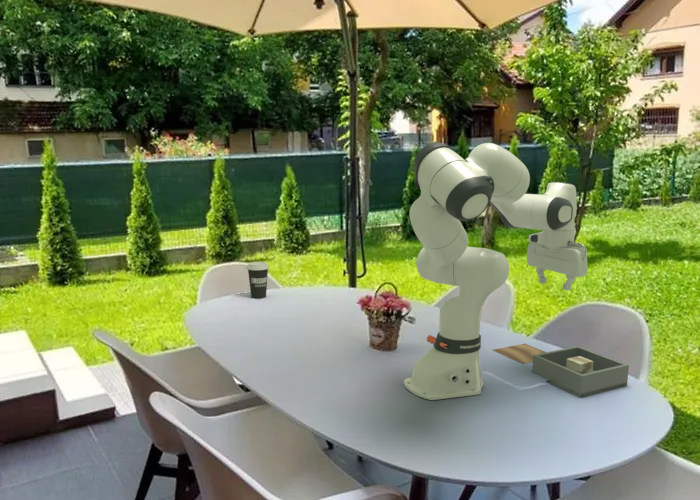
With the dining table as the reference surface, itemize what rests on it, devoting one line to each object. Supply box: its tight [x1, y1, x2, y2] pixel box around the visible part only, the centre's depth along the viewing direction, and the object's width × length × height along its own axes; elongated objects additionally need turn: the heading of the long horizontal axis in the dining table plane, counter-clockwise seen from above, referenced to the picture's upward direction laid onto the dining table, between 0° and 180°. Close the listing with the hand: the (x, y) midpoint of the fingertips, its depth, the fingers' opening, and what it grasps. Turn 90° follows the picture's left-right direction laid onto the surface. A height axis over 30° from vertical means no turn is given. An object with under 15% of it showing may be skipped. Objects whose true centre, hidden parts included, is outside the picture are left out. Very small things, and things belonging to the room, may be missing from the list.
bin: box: [531, 345, 630, 399], centre depth 171 cm, size 18×18×6 cm
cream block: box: [566, 356, 593, 374], centre depth 170 cm, size 5×5×5 cm
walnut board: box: [492, 343, 547, 365], centre depth 190 cm, size 14×14×1 cm
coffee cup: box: [246, 261, 270, 300], centre depth 263 cm, size 10×10×15 cm
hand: (554, 286), depth 173 cm, fingers open, 8 cm apart
